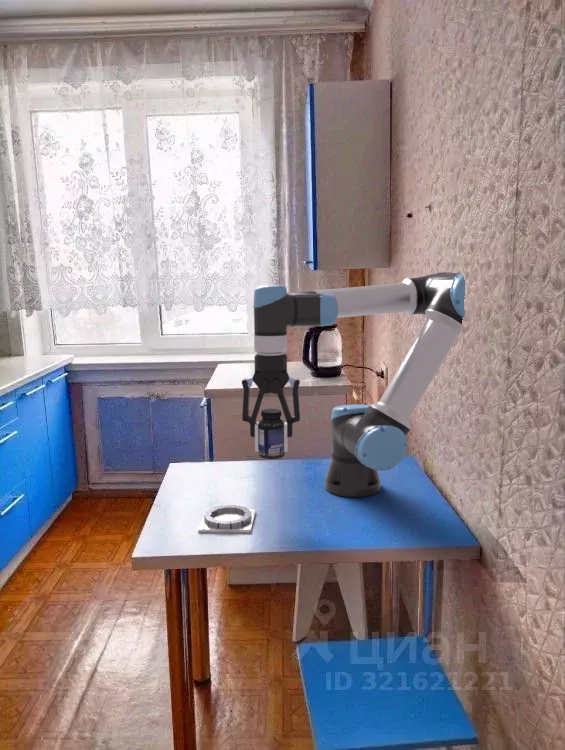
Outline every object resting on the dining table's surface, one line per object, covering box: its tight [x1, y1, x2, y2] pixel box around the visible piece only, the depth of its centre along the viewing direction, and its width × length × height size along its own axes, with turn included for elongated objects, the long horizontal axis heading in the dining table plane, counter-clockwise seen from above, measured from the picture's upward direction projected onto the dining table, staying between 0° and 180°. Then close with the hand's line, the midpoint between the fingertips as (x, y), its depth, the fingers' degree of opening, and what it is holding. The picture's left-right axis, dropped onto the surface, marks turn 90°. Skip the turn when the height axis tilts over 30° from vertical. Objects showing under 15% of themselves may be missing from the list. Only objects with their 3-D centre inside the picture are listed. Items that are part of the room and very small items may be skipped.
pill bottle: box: [258, 408, 286, 460], centre depth 140 cm, size 6×6×11 cm
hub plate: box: [197, 504, 257, 534], centre depth 141 cm, size 12×12×2 cm
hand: (271, 449), depth 141 cm, fingers closed on pill bottle, 6 cm apart
